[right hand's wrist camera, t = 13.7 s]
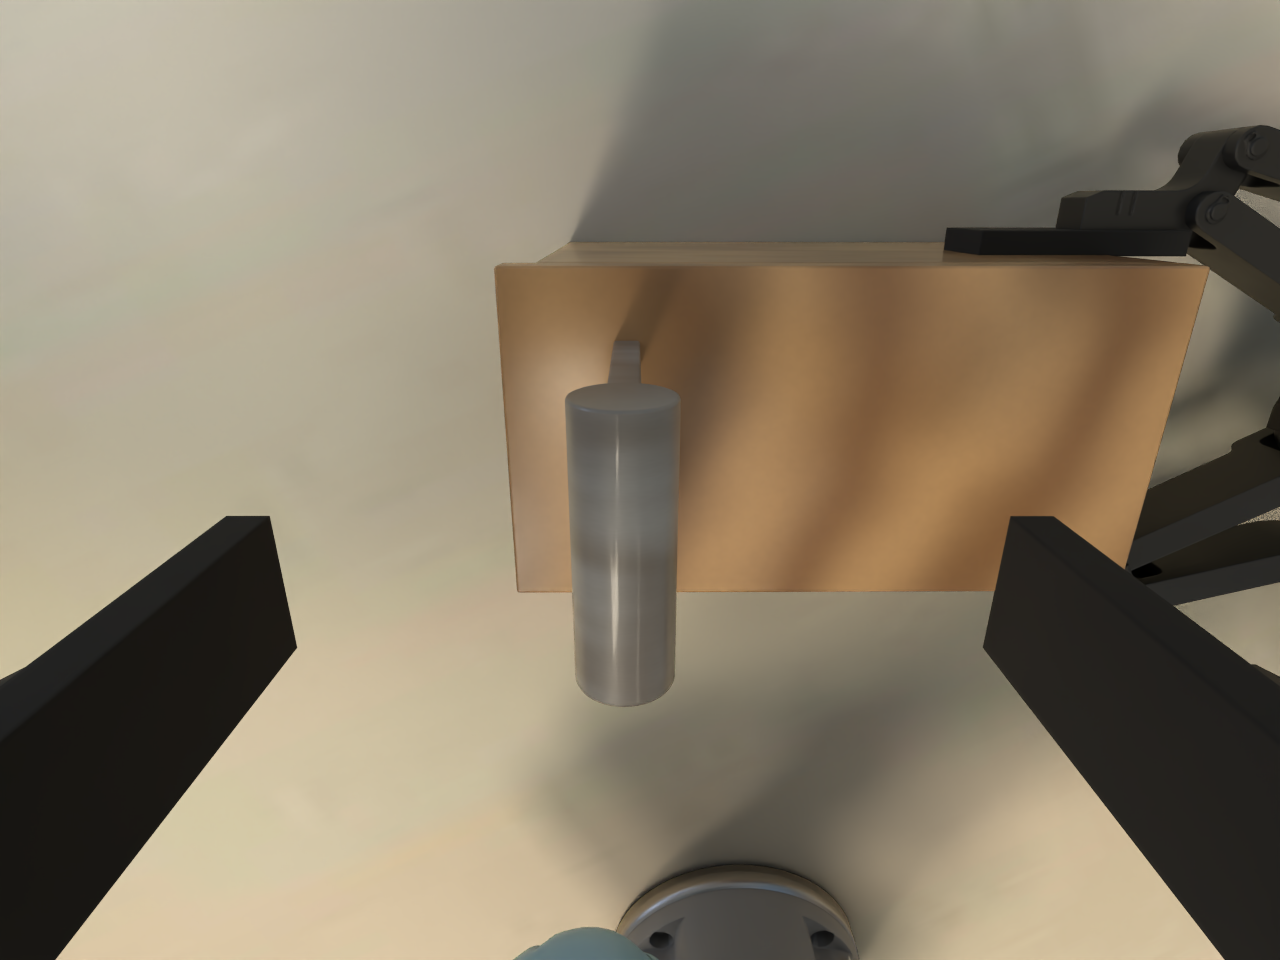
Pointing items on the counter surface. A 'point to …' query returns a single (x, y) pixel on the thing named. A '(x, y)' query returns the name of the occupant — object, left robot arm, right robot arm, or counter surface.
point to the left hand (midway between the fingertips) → (937, 394)
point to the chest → (798, 253)
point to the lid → (817, 429)
